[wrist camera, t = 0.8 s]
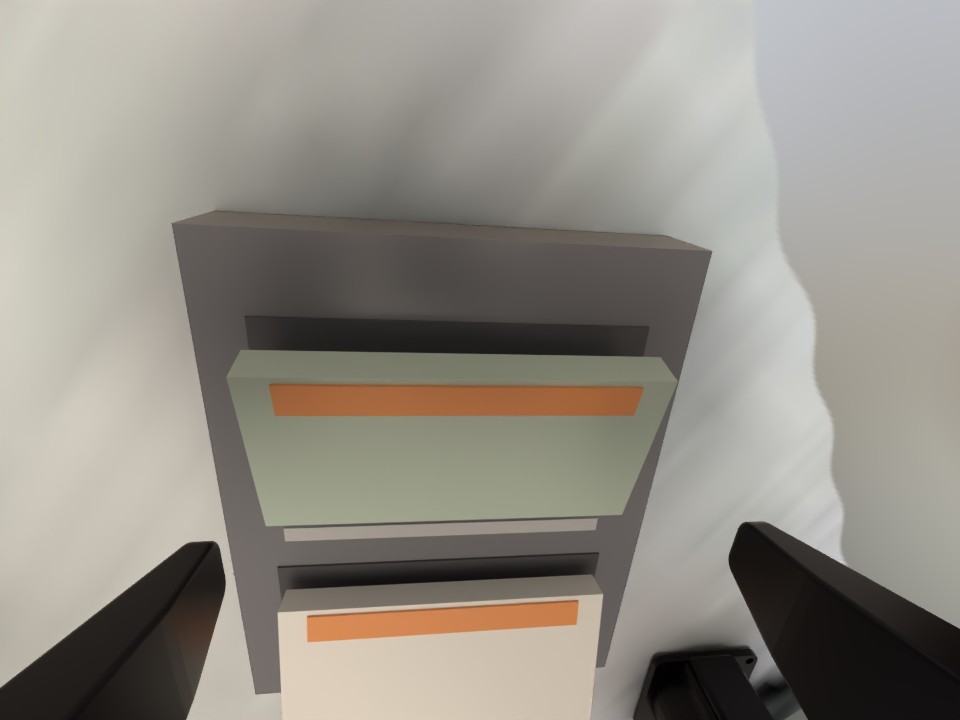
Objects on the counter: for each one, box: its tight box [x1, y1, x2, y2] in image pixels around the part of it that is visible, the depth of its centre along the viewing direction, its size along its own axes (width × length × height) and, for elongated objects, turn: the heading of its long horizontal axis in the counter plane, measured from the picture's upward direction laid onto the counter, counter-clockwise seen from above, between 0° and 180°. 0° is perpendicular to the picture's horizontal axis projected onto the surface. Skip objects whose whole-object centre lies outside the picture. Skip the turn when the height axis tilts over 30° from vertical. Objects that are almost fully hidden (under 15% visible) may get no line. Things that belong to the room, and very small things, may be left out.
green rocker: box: [226, 350, 678, 526], centre depth 15 cm, size 6×12×2 cm, turn 86°
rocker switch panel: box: [172, 211, 712, 694], centre depth 19 cm, size 20×16×3 cm
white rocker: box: [278, 574, 603, 720], centre depth 19 cm, size 6×12×2 cm, turn 86°
